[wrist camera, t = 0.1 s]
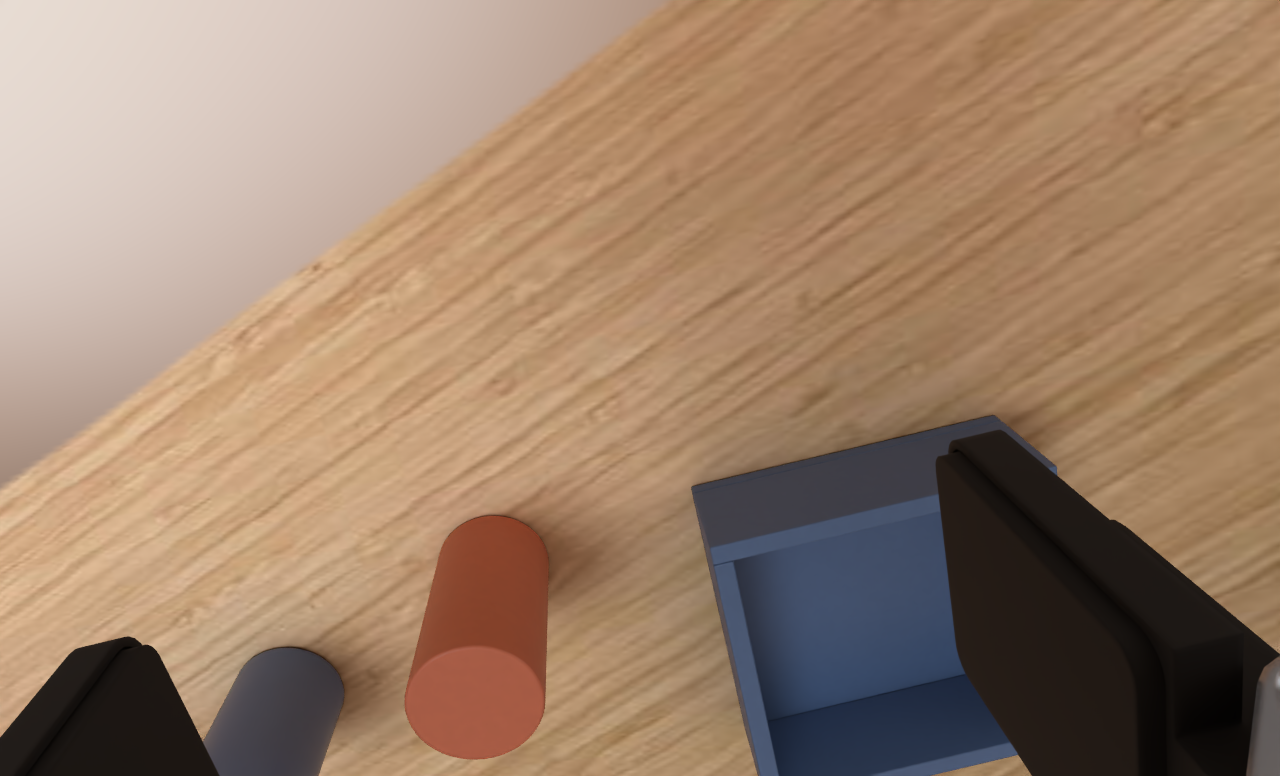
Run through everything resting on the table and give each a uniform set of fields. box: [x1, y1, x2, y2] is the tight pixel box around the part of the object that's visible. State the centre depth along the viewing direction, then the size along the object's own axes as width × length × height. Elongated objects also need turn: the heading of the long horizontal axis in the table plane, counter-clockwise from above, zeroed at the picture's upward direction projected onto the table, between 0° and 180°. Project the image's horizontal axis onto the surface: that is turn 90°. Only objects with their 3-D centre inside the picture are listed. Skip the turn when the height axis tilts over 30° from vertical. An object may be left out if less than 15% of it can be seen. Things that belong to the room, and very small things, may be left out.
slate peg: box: [203, 648, 344, 776], centre depth 28 cm, size 4×4×7 cm
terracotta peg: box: [405, 516, 549, 759], centre depth 27 cm, size 4×4×7 cm
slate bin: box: [691, 415, 1057, 776], centre depth 29 cm, size 10×10×4 cm
